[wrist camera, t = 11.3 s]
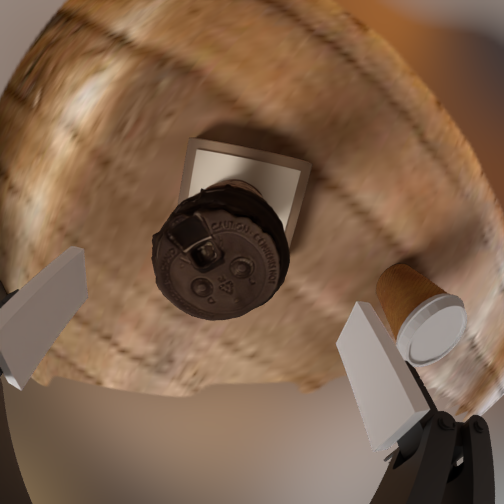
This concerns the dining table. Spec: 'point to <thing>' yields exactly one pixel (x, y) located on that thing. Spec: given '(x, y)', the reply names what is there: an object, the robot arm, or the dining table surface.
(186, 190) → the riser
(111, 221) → the dining table surface
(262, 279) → the coffee cup
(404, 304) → the disposable coffee cup
